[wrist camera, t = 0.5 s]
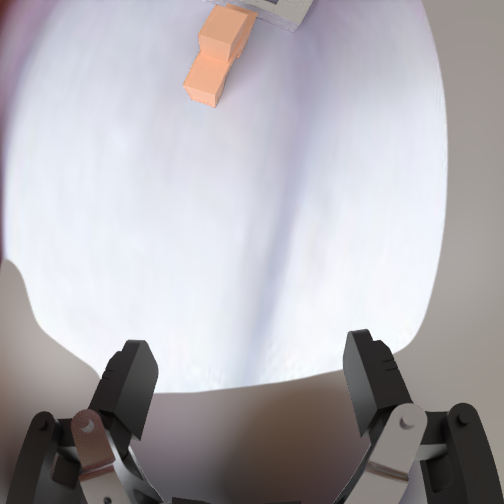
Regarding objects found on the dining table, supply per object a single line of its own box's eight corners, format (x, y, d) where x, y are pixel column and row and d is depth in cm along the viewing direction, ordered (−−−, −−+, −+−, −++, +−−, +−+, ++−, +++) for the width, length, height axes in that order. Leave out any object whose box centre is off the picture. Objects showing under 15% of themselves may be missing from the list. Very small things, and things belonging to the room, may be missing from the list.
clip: (191, 99, 28) (175, 70, 15) (223, 35, 25) (231, -24, 12) (214, 108, 29) (215, 83, 16) (246, 43, 26) (268, -12, 13)
